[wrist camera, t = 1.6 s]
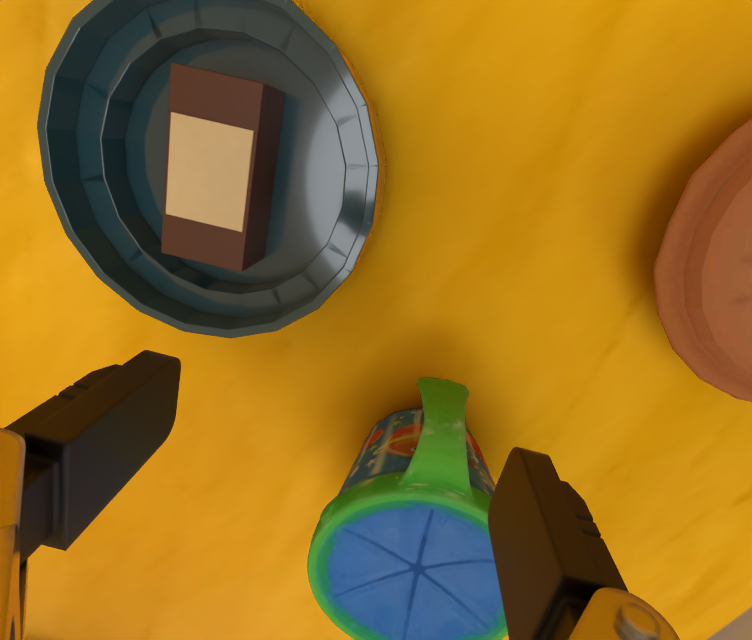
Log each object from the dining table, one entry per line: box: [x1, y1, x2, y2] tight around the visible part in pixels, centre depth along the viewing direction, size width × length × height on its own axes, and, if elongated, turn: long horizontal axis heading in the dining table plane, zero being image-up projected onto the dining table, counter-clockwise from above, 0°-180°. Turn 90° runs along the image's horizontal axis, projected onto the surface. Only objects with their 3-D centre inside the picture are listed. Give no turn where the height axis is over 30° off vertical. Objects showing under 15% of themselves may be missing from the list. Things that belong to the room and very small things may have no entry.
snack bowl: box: [37, 0, 387, 338], centre depth 24 cm, size 17×17×4 cm
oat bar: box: [161, 62, 285, 272], centre depth 24 cm, size 9×4×4 cm, turn 168°
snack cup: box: [307, 377, 508, 640], centre depth 26 cm, size 16×10×10 cm
